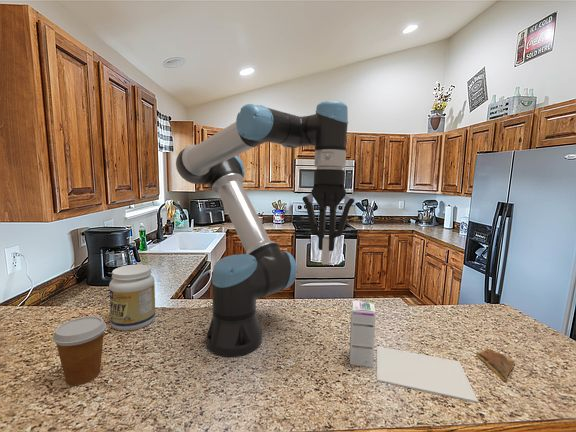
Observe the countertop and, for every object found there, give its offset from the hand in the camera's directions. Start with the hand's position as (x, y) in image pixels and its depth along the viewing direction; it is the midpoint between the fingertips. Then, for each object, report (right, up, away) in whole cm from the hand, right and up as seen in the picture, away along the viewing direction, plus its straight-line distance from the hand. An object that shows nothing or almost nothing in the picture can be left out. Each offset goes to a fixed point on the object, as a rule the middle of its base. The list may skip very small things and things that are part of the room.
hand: (325, 262), depth 73 cm
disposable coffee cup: (-55, -24, -9) cm, 61 cm away
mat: (+22, -25, -4) cm, 34 cm away
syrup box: (+9, -25, 0) cm, 26 cm away
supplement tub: (-57, -21, +16) cm, 63 cm away
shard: (+44, -26, -1) cm, 51 cm away
